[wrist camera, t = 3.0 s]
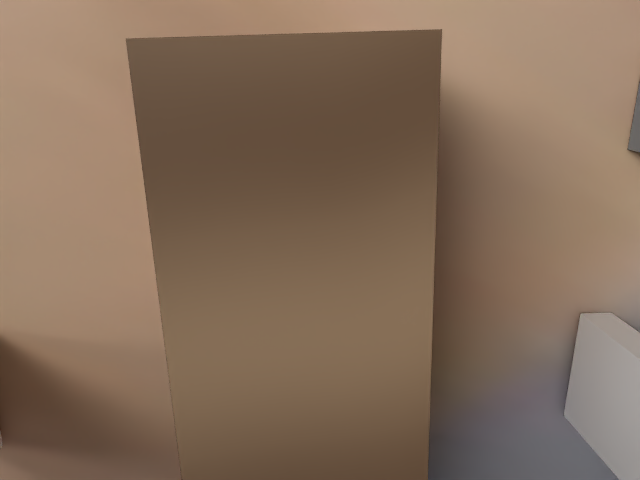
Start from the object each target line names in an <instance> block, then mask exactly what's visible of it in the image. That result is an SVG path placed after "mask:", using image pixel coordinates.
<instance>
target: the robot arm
mask: <svg viewBox="0 0 640 480" xmlns="http://www.w3.org/2000/svg"><path fill="white" fill-rule="evenodd" d="M564 417H565V418H566V419H567V420H568V421H569V422H570V423H571V425H572V426H573V427H574V428H575V429H576V430H577V432H578V433H579V434H580V435H581V436H582V437H583V438H584V440H585V441H586V442H587V443H588V444H589V445H590V446H591V448H592V449H593V450H594V451H595V452H596V453H597V454H598V456H599V457H600V458H601V459H602V460H603V461H604V462H605V464H606V465H607V466H608V467H609V468H610V469H611V471H612V472H613V473H614V474H615V475H616V476H617V477H618V479H619V480H640V333H639V332H638V331H637V330H635V329H634V328H632V327H631V326H629V325H628V324H627V323H625V322H624V321H622V320H621V319H620V318H618V317H617V316H615V315H614V314H613V313H583V314H580V320H579V326H578V332H577V338H576V344H575V350H574V356H573V362H572V368H571V374H570V380H569V386H568V392H567V398H566V404H565V410H564ZM2 446H3V444H2V438H1V432H0V449H1V447H2Z"/></svg>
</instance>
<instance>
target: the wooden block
mask: <svg viewBox="0 0 640 480" xmlns="http://www.w3.org/2000/svg"><path fill="white" fill-rule="evenodd" d="M441 42H442V29H441V30H407V31H372V32H338V33H303V34H269V35H234V36H200V37H165V38H131V39H126V43H127V51H128V59H129V67H130V75H131V83H132V91H133V99H134V106H135V114H136V122H137V130H138V138H139V146H140V154H141V162H142V170H143V178H144V185H145V193H146V201H147V209H148V217H149V225H150V233H151V241H152V249H153V256H154V264H155V272H156V280H157V288H158V296H159V304H160V312H161V320H162V327H163V335H164V343H165V351H166V359H167V367H168V375H169V383H170V391H171V398H172V406H173V414H174V422H175V430H176V438H177V446H178V454H179V462H180V469H181V477H182V480H428V455H429V423H430V391H431V360H432V328H433V296H434V264H435V232H436V201H437V169H438V137H439V105H440V74H441Z"/></svg>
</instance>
